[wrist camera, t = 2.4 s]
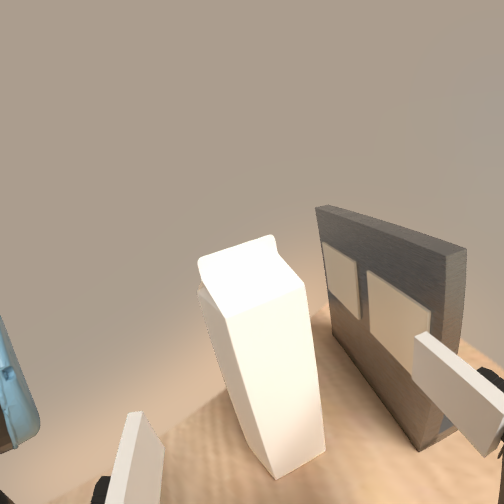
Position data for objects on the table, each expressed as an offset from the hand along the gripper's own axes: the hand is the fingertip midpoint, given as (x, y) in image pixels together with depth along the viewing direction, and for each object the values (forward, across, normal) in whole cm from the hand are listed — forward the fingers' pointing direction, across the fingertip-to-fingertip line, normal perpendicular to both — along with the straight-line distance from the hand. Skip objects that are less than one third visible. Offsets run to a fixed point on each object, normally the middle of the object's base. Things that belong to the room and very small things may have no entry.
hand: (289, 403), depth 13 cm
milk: (+10, -1, -17) cm, 20 cm away
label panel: (+17, +15, -17) cm, 28 cm away
